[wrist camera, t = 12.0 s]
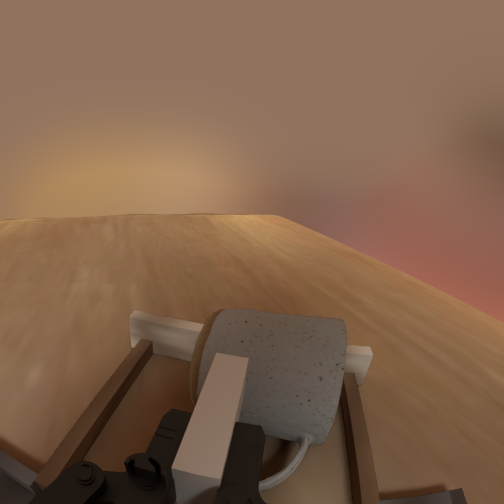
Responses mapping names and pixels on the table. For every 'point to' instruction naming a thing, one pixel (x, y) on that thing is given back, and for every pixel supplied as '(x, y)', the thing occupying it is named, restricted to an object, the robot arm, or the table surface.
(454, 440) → the table surface
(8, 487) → the frame with square trays
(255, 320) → the ceramic mug
